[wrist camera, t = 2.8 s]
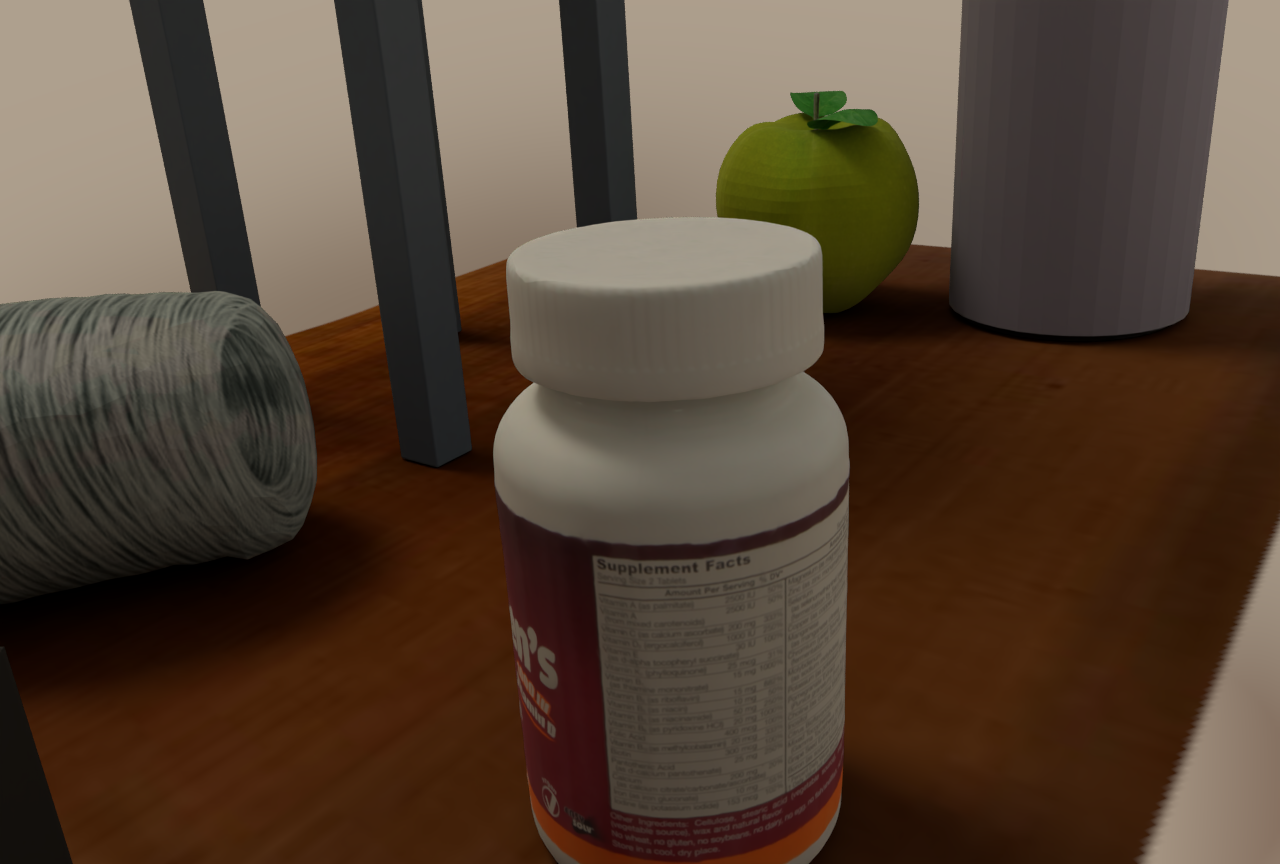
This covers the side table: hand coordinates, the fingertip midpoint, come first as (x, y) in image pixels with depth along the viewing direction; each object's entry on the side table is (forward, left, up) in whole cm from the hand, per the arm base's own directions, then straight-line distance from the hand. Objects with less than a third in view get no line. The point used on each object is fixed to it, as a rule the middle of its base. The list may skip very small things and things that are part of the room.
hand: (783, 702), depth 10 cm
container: (+33, +31, -9) cm, 46 cm away
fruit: (+24, +38, -9) cm, 46 cm away
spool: (-8, +26, -9) cm, 29 cm away
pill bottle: (+3, +9, -9) cm, 14 cm away
